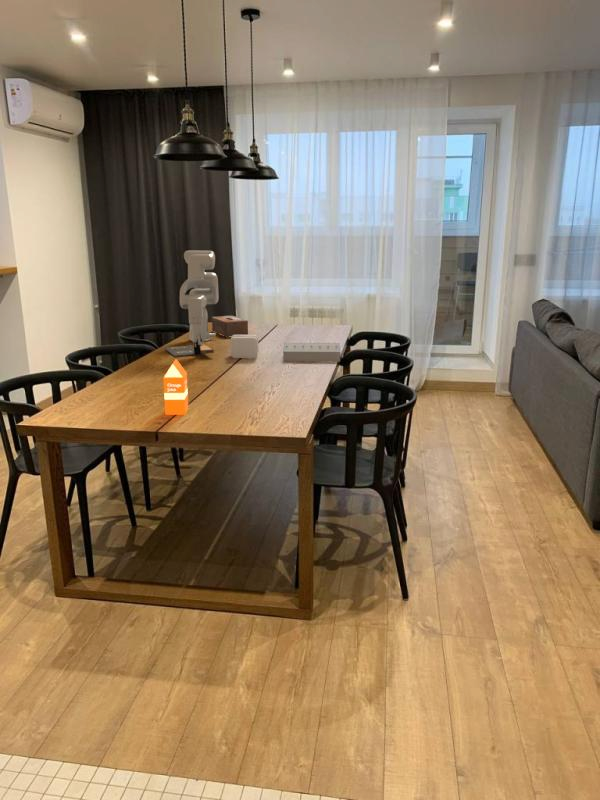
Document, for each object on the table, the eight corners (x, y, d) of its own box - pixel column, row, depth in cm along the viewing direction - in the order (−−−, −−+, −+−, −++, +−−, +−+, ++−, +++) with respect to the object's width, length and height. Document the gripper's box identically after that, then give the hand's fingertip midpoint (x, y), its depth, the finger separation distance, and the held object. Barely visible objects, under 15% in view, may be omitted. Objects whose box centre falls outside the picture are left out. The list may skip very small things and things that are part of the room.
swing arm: (193, 347, 349) (193, 343, 349) (204, 347, 352) (204, 343, 351) (202, 353, 334) (201, 349, 333) (213, 353, 336) (213, 348, 335)
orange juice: (188, 408, 247) (186, 358, 241) (185, 414, 238) (183, 363, 233) (168, 408, 246) (166, 358, 241) (164, 414, 238) (162, 363, 232)
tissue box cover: (248, 336, 403) (247, 320, 400) (227, 338, 396) (226, 322, 393) (232, 330, 424) (231, 315, 421) (212, 331, 417) (211, 317, 415)
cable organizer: (229, 359, 335) (228, 337, 332) (231, 355, 345) (231, 334, 342) (257, 359, 335) (257, 337, 331) (258, 355, 345) (258, 334, 342)
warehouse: (283, 362, 330) (283, 348, 328) (284, 356, 344) (284, 342, 342) (340, 362, 329) (340, 348, 327) (339, 356, 343) (339, 343, 341)
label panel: (195, 346, 366) (194, 342, 365) (206, 354, 345) (206, 350, 344) (164, 349, 359) (164, 345, 358) (174, 357, 338) (174, 352, 337)
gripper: (185, 318, 337) (187, 352, 342) (192, 323, 324) (194, 357, 329) (199, 317, 340) (200, 350, 345) (206, 322, 327) (208, 356, 332)
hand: (197, 354), depth 337 cm, fingers closed
